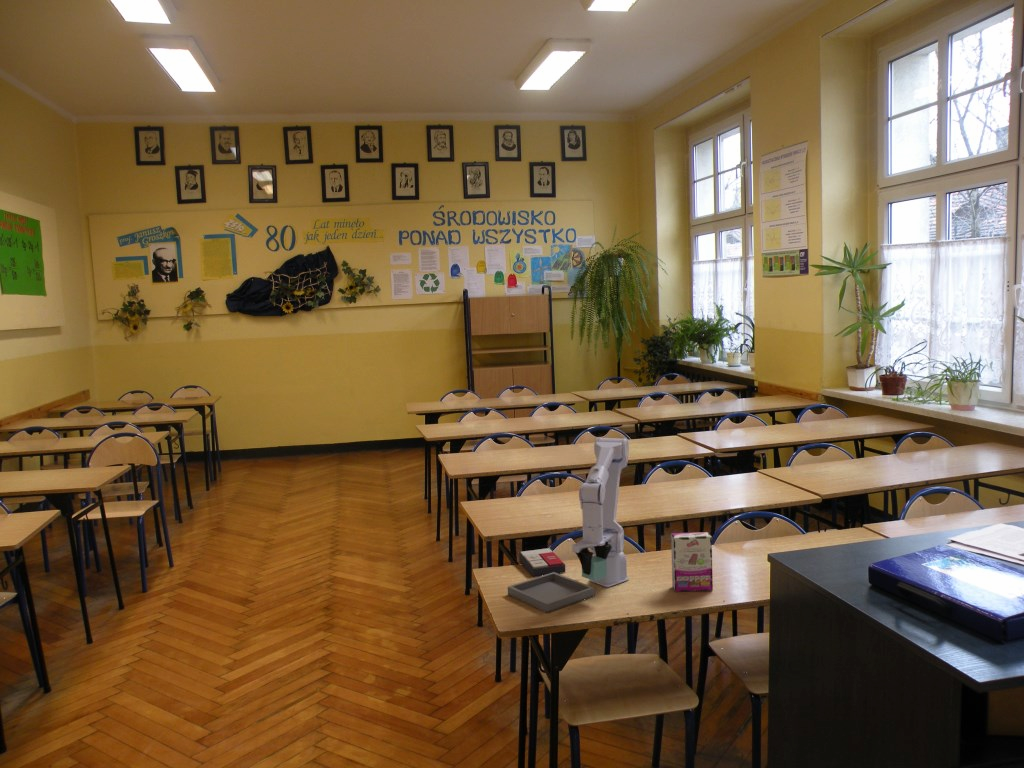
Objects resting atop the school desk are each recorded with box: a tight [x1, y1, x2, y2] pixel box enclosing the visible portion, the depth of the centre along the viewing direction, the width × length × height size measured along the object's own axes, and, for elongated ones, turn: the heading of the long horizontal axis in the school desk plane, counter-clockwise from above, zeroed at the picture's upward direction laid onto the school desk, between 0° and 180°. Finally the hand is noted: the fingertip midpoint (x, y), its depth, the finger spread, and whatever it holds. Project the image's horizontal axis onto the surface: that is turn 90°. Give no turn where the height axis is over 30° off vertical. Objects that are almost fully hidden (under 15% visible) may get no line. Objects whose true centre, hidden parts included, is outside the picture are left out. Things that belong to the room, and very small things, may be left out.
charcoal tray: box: [507, 572, 596, 614], centre depth 224 cm, size 18×18×2 cm
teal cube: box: [581, 555, 607, 581], centre depth 219 cm, size 5×5×5 cm
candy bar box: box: [670, 531, 714, 593], centre depth 225 cm, size 11×5×16 cm, turn 89°
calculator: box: [518, 547, 566, 578], centre depth 248 cm, size 11×4×15 cm
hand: (593, 571), depth 219 cm, fingers closed on teal cube, 5 cm apart
